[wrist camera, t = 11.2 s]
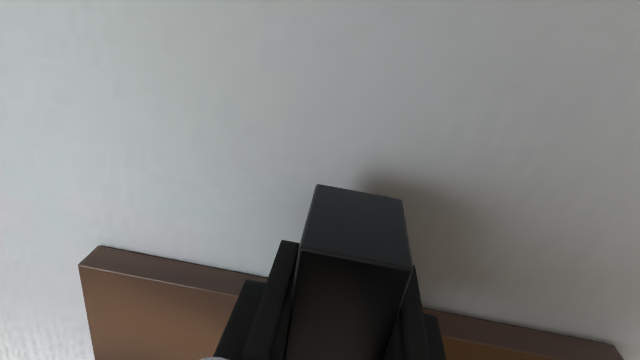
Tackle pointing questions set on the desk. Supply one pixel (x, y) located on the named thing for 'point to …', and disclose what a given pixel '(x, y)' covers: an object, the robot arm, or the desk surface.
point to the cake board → (220, 298)
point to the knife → (348, 277)
